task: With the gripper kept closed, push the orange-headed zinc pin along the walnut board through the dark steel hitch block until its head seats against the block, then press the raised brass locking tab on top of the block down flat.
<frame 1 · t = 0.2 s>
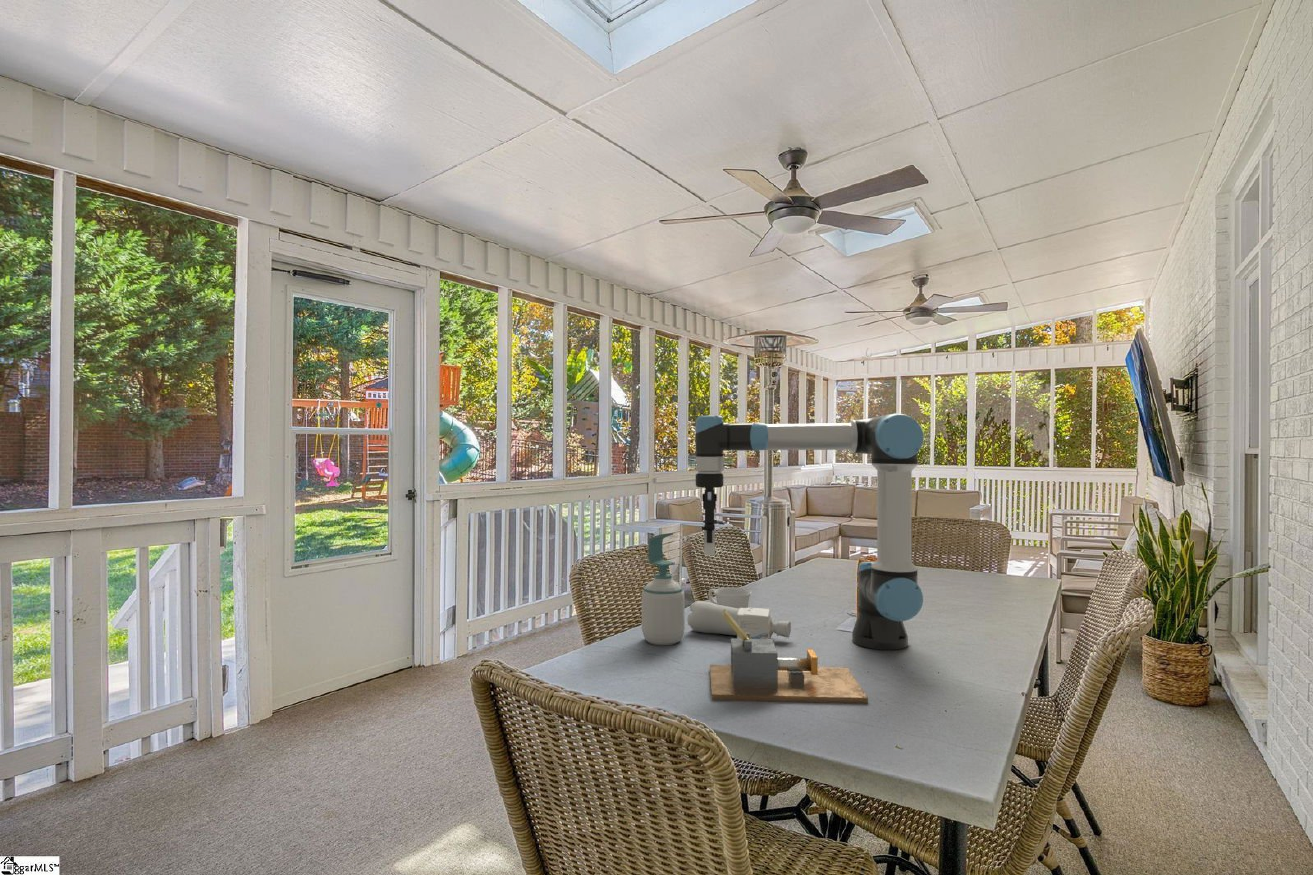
hand: (709, 551, 180), 28 cm above the table, fingers open, 13 cm apart
ink box: (753, 655, 180), on the table
hitch block: (753, 684, 157), on the table
soap bottle: (663, 641, 192), on the table
lynch pin: (786, 661, 157), point 5 cm above the table, slide at 0.0 cm
teacup: (728, 622, 213), on the table
bottle: (738, 637, 197), on the table
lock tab: (736, 627, 157), point 13 cm above the table, hinge at 50.0°
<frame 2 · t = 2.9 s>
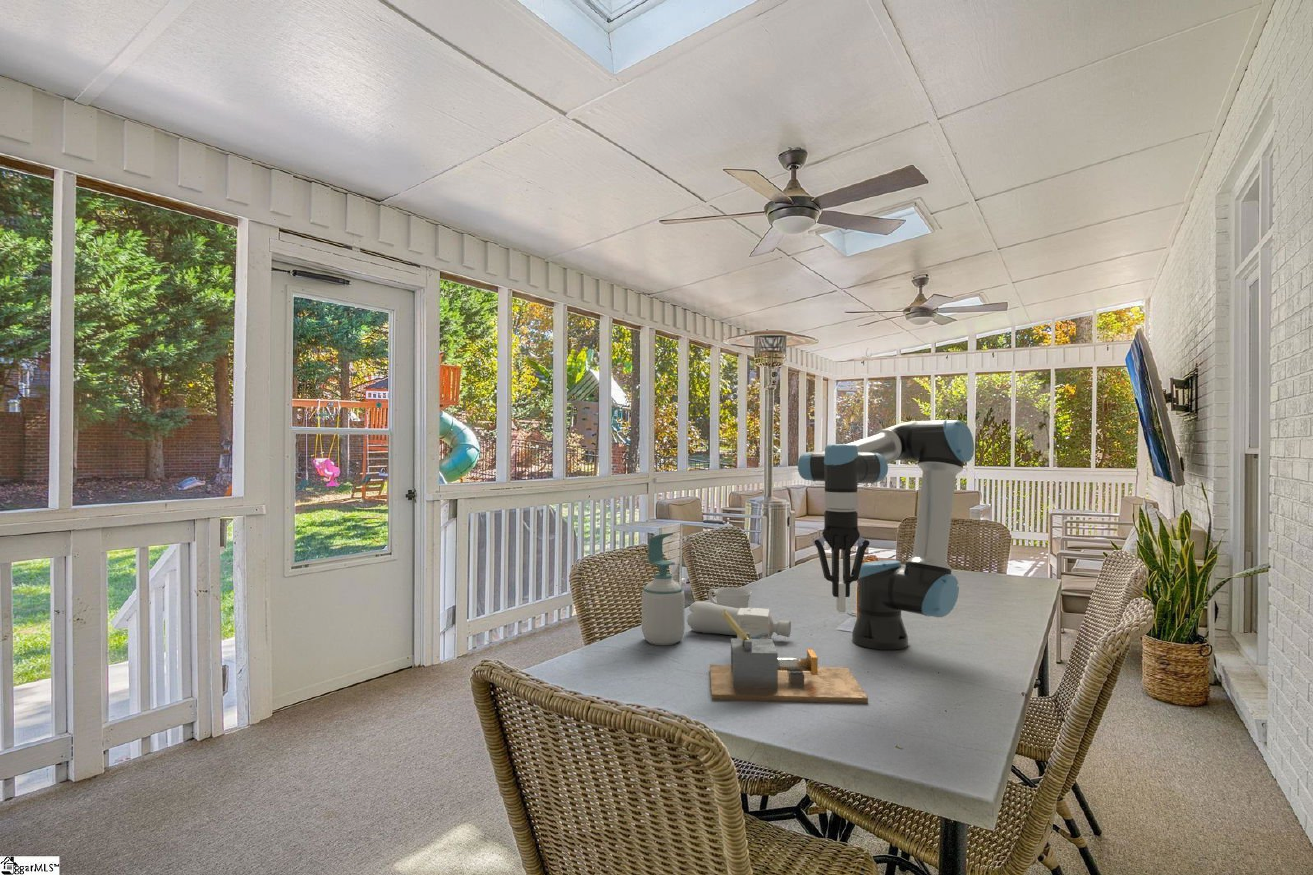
hand: (841, 610, 156), 18 cm above the table, fingers closed
nothing on the table moved.
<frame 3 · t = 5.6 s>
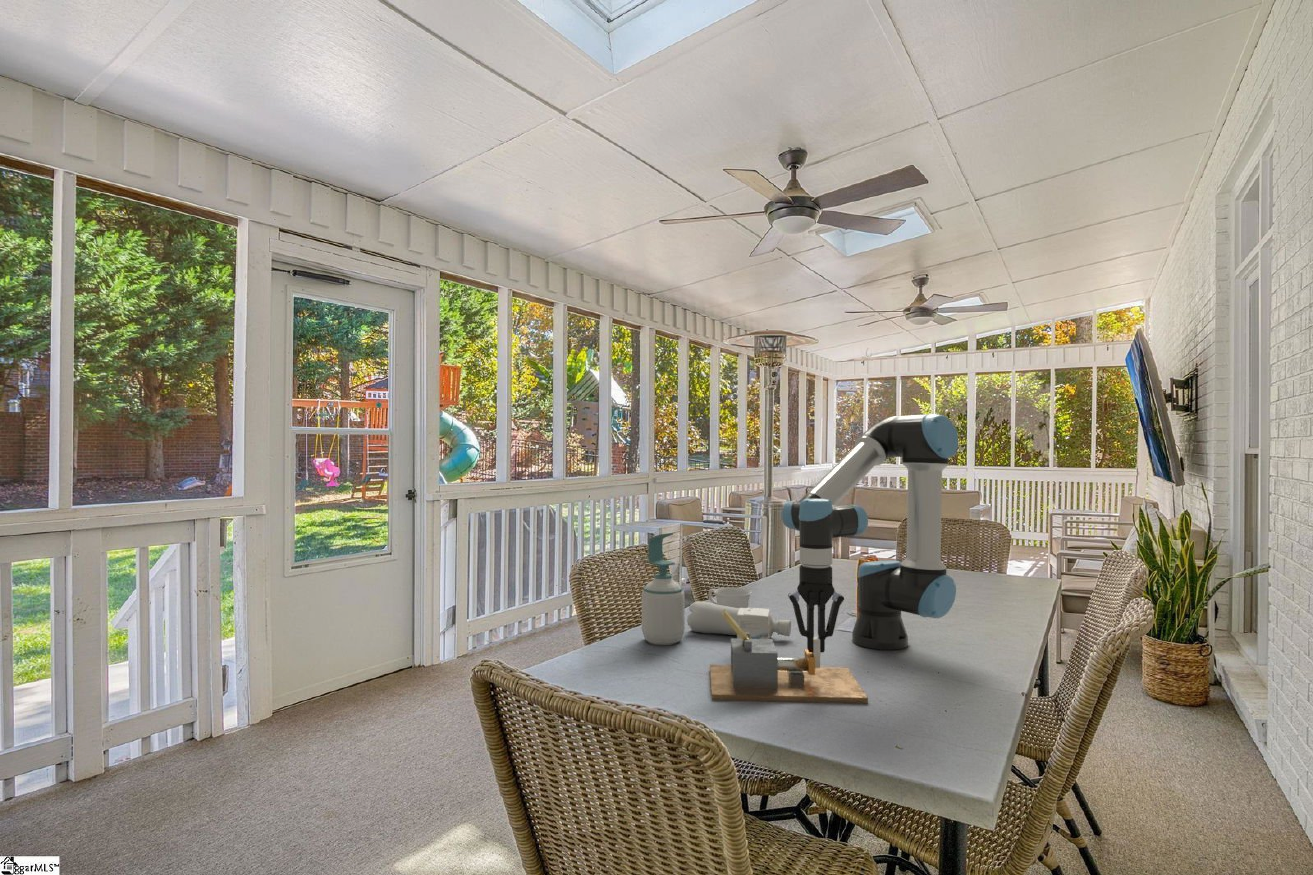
hand: (815, 665, 156), 5 cm above the table, fingers closed
lynch pin: (783, 661, 157), point 5 cm above the table, slide at 0.6 cm, touching gripper
everything else where it was.
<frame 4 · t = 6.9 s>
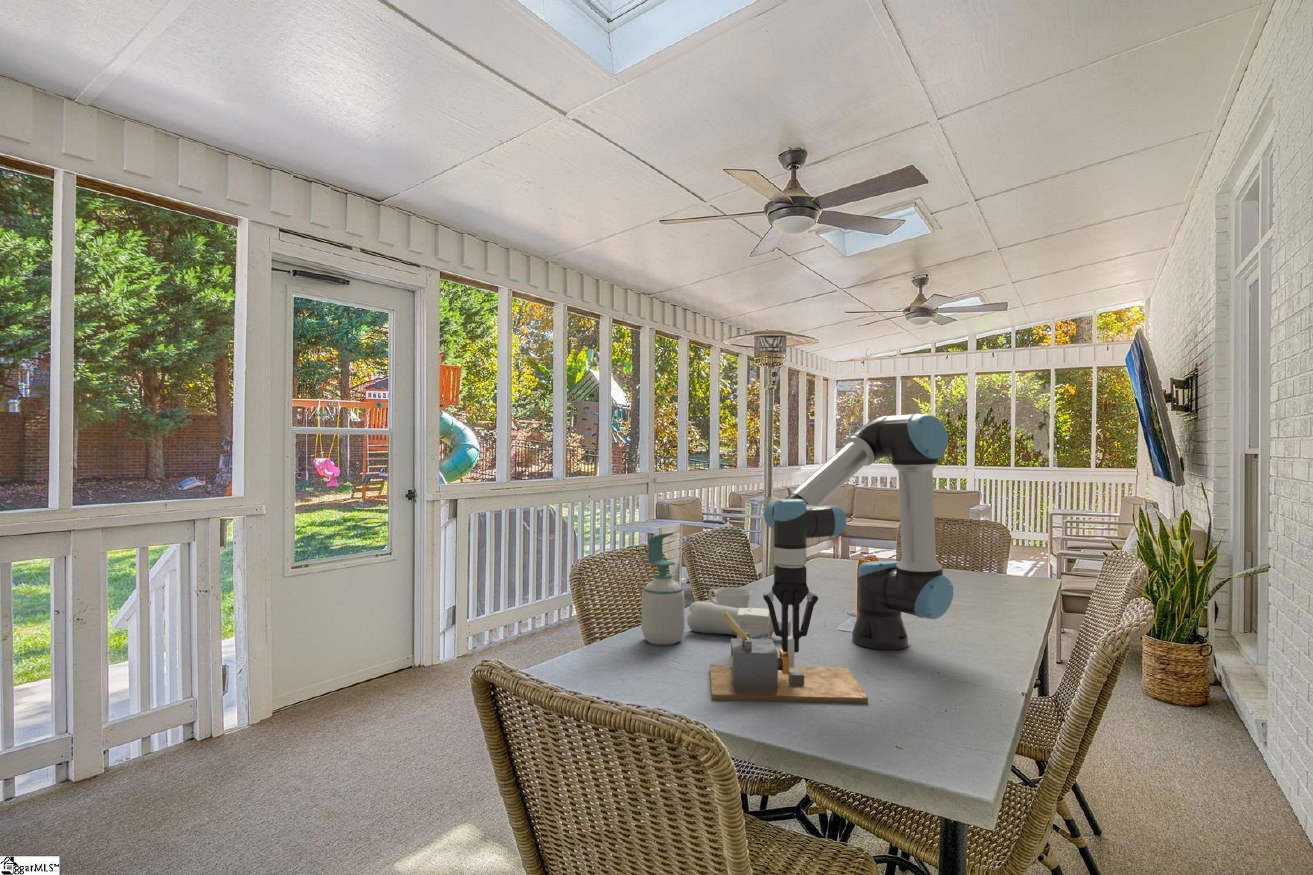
hand: (790, 665, 156), 5 cm above the table, fingers closed
lynch pin: (758, 661, 157), point 5 cm above the table, slide at 6.5 cm, touching gripper
everything else where it was.
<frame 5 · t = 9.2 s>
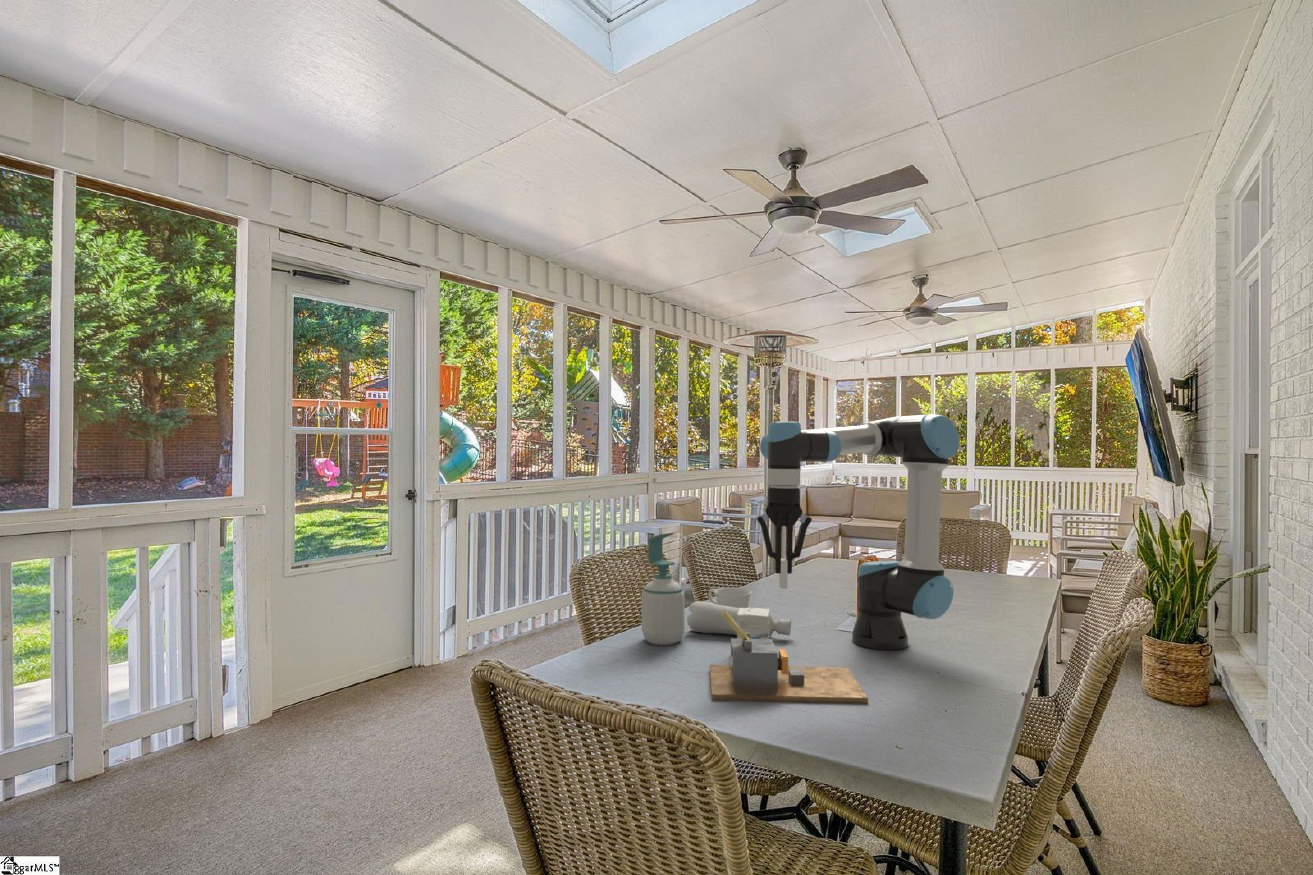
hand: (783, 587, 157), 23 cm above the table, fingers closed
lynch pin: (757, 661, 157), point 6 cm above the table, slide at 6.7 cm
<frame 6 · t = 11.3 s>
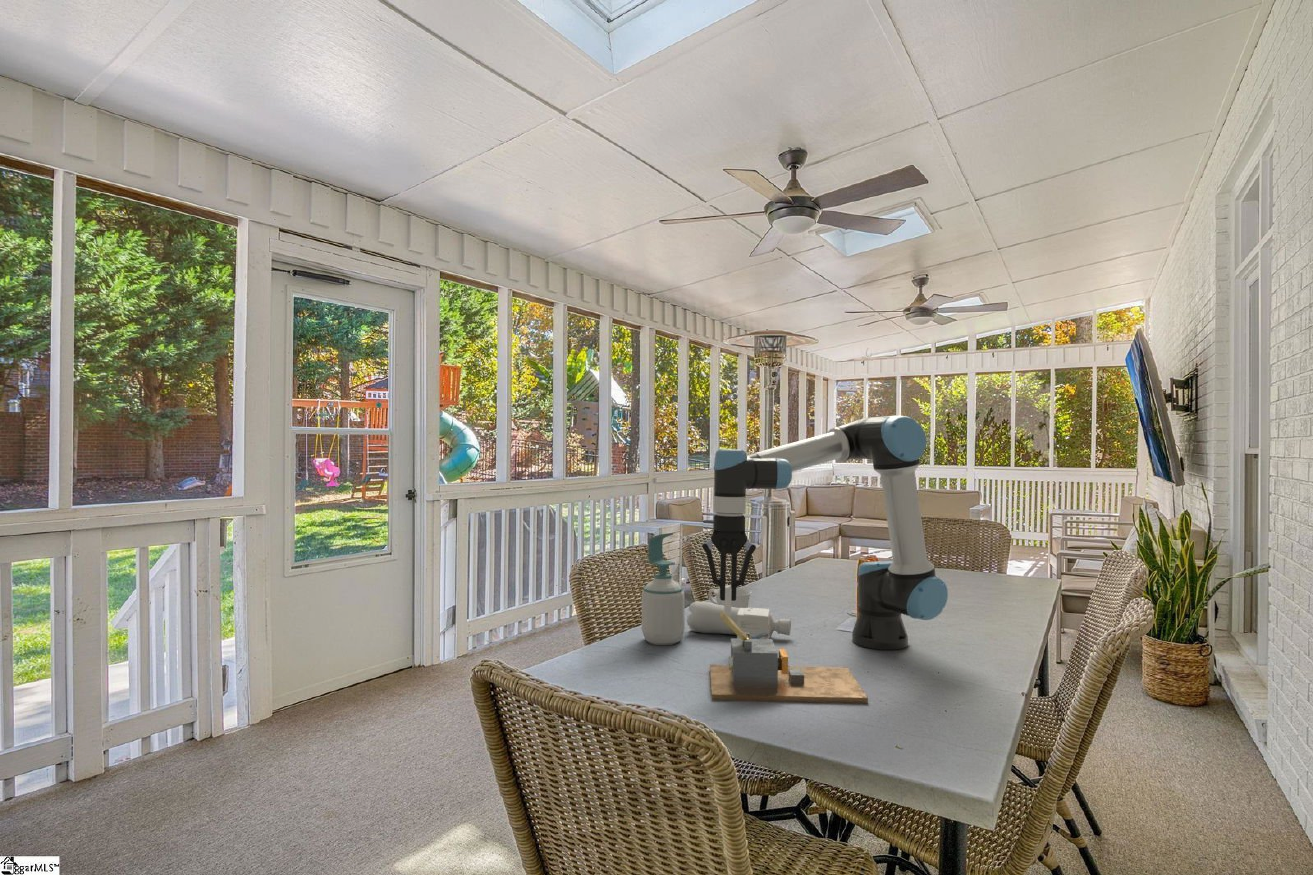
hand: (727, 614, 157), 17 cm above the table, fingers closed
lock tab: (735, 628, 157), point 13 cm above the table, hinge at 45.9°, touching gripper
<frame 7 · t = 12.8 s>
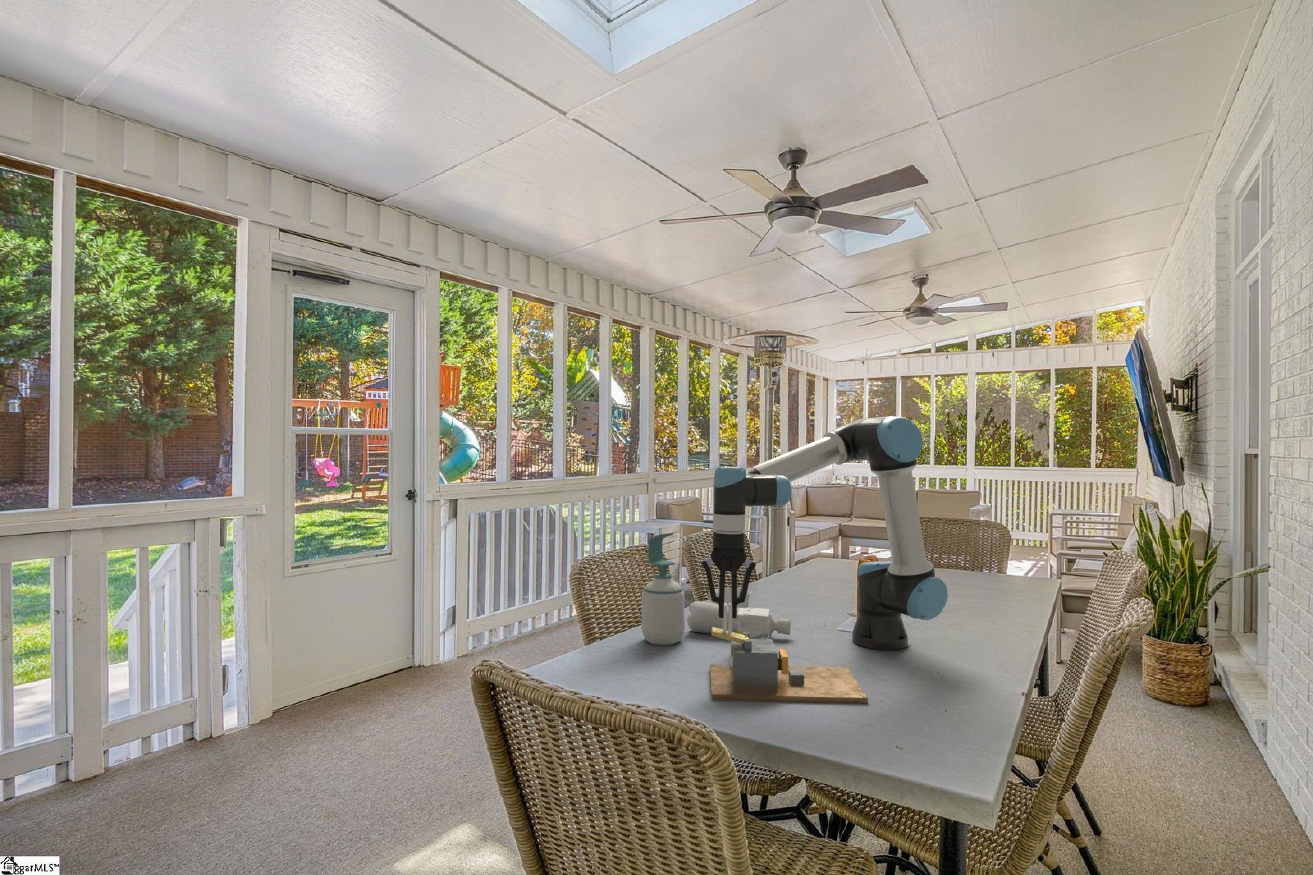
hand: (727, 631, 157), 12 cm above the table, fingers closed
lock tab: (730, 636, 157), point 11 cm above the table, hinge at 14.0°, touching gripper
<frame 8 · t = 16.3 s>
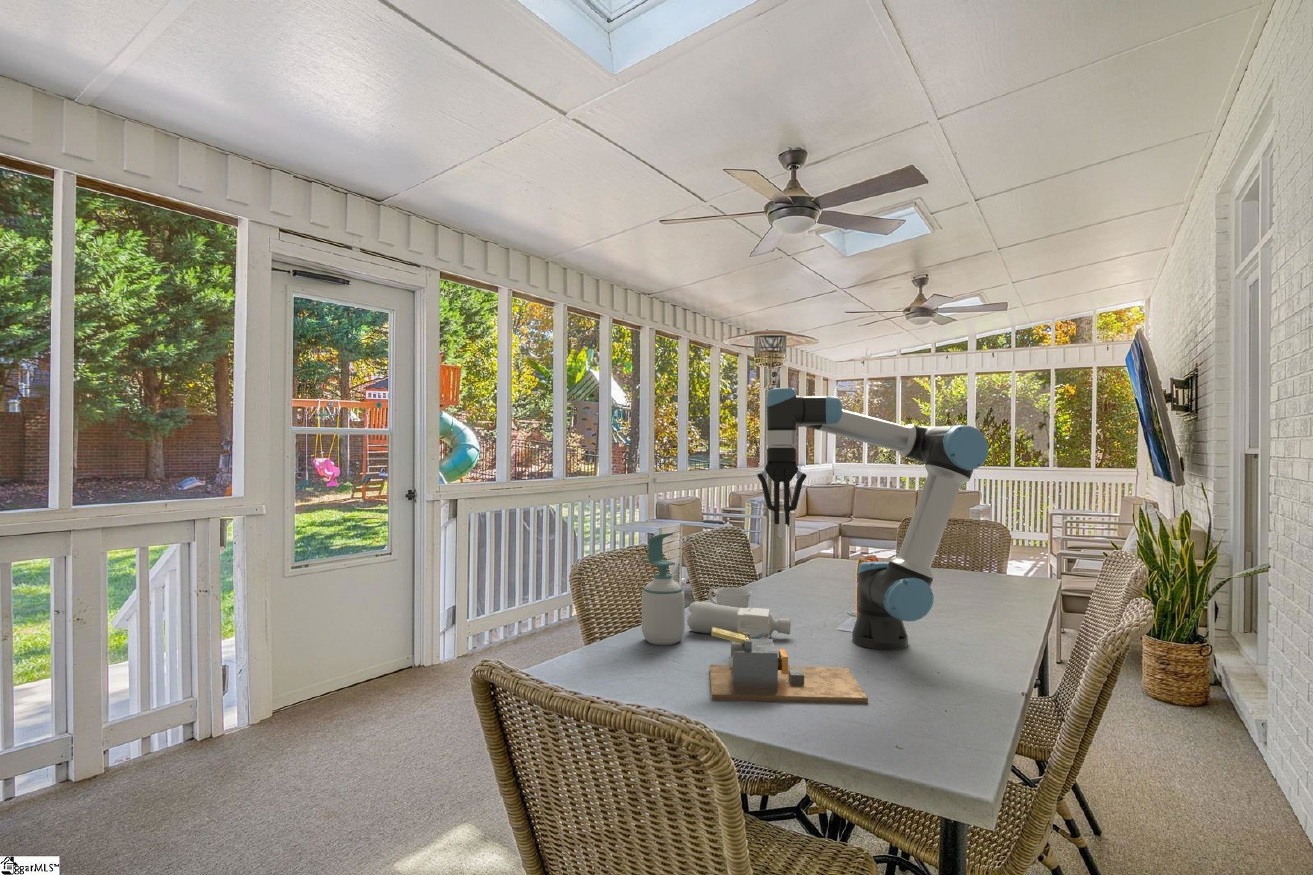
hand: (781, 536, 175), 32 cm above the table, fingers closed
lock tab: (730, 636, 157), point 11 cm above the table, hinge at 13.7°
at the end: lynch pin slide at 6.7 cm; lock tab at +14° (first picture: +50°) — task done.
